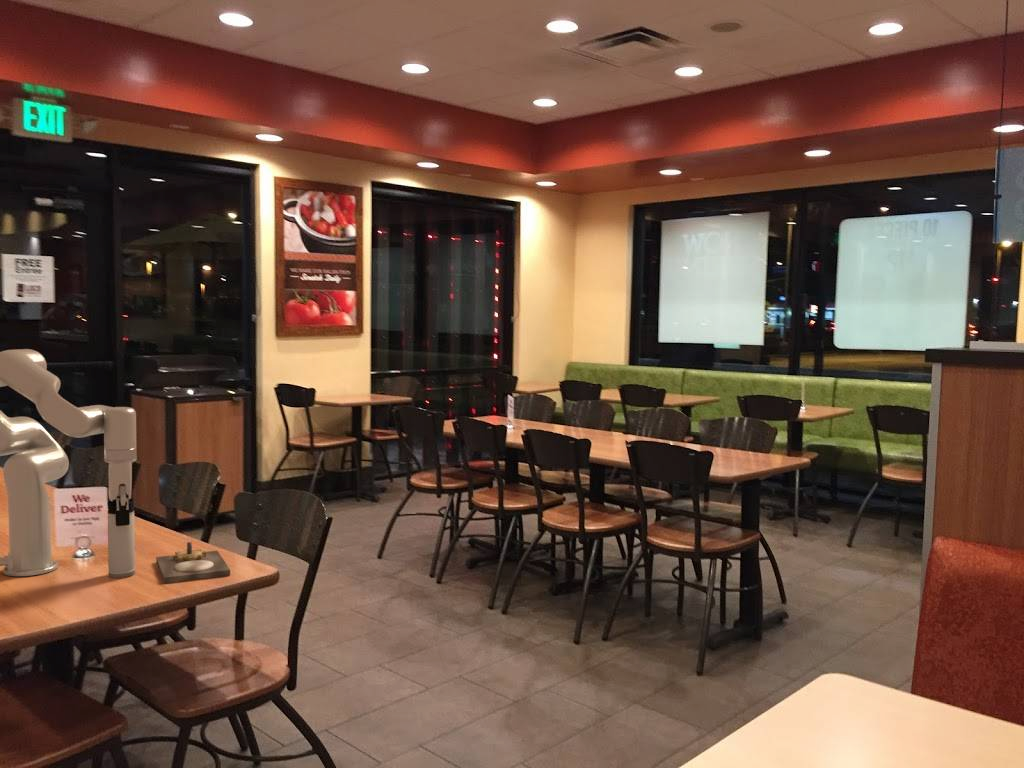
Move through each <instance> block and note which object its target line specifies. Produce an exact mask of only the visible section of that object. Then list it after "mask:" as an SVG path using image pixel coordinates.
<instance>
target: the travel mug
mask: <svg viewBox="0 0 1024 768" xmlns="http://www.w3.org/2000/svg"><path fill="white" fill-rule="evenodd" d="M128 505H129V512H130V524H129V525H125V526H116V512H115V510H117V507H116V500H113V501H110V500H109V501H108V502H107V555H108V556H107V558H108V559H107V560H108V561H107V562H108V563H107V564H108V565H107V567H108V577H110V578H111V579H112V578H113V579H125V578H129V577H132V576H134V575H135V573H136V557H135V556H136V555H135V554H136V553H135V552H136V551H135V547H136V546H135V541H136V540H135V539H136V537H135V536H136V535H135V500H134V498H132V497H131V499H130V500H128Z"/></svg>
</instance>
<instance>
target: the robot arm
mask: <svg viewBox="0 0 1024 768" xmlns="http://www.w3.org/2000/svg"><path fill="white" fill-rule="evenodd" d="M47 368H48V367H47V361H46V358H45V357H44V355H43V354H41V353H40V352H39V351H36V350H34V349H30V348H22V349H19V348H18V349H7V350H2V351H0V388H2V387H7V386H8V387H9V388H10V389H12V390H13V391H15V392H16V393H18V394H20V395H22V396H23V397H25V398H27V399H28V400H30V401H31V402H32V403H34V404H35V407H36V410H37V411H38V413H39V415H40V416H41V417H42V419H43V421H45V422H46V423H48V424H49V425H51V426H52V427H54V428H55V429H57V430H58V431H60V432H61V433H63V434H64V435H65V436H68V437H72V438H79V439H80V438H85V437H90V436H94V435H100V434H103V442H104V443H103V445H104V449H103V451H104V452H103V453H104V454H103V455H104V462H105V463H108V498H109V501H113V500H116V507H117V510H115V512H116V526H125V525H129V524H130V512H129V505H128V500H130V499H131V498H132V483H133V481H132V480H133V478H132V476H133V473H132V472H133V471H132V470H133V466H132V463H133V462H136V461H137V460H138V459H137V458H138V457H137V456H138V455H137V454H138V453H137V413H136V410H135V408H133V407H130V406H129V407H128V406H115V407H113V406H109V405H104V404H95V405H94V404H93V405H89V406H88V405H87V406H80V407H77V406H75V405H74V404H72V403H70V401H68V400H66V399H65V398H63V397H62V396H61V395H60V394H59V390H60V389H61V384H62V383H61V380H60V378H59V377H58V376H57V375H55V374H54V373H52V372H51V371H49V370H47ZM8 455H11V456H9V458H8V459H7V460H6V461H5V463H4V465H3V470H2V471H3V472H2V473H3V474H2V475H3V480H4V484H5V488H6V495H7V507H8V509H7V510H8V511H7V514H8V540H9V541H8V543H9V546H8V548H9V552H8V554H7V555H4V556H3V557H0V567H1V566H4V567H2V572H3V574H4V575H6V576H9V577H10V576H11V577H31V576H38V575H42V574H43V575H44V574H47V573H50V572H53V571H55V570H56V569H58V567H59V562H58V561H57V560H55V559H52V533H51V532H52V529H51V527H52V526H51V523H52V522H51V501H50V496H49V492H48V491H47V489H46V486H45V485H46V483H49V482H53V481H56V480H59V479H61V478H62V477H64V476H65V475H66V473H67V472H68V470H69V466H70V461H69V457H68V455H67V454H66V452H65V451H64V449H63V448H62V447H61V445H60V444H59V443H58V442H57V441H56V440H55V438H54V437H53V436H52V435H51V434H50V433H49V432H48V431H47V430H46V428H45V427H44V426H43V425H42V424H41V423H40V422H38V421H37V420H35V419H34V418H31V417H29V416H14V417H9V416H7V415H6V414H5V413H4V412H3V411H2V410H1V409H0V457H2V456H8Z"/></svg>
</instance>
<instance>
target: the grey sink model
mask: <svg viewBox="0 0 1024 768" xmlns="http://www.w3.org/2000/svg"><path fill="white" fill-rule="evenodd" d="M192 544H193V543H192V542H191V541H188V542H186V549H185V550H182V551H176V552H174V554H172V555H164V556H156V559H155V560H156V565H157V568H158V571H159V573H160V575H161V578H162V580H163V584H172V583H181V582H189V581H197V580H196V579H198V580H205V579H204V578H206V579H211V578H213V577H214V578H222V577H230V576H231V568H230V567H229V566H228V564H227V563H226V561H225V559H224V558H223V556H222V555H221V554H220V552H219V551H218V550H210V551H202V550H201V549H195V550H194V549H192V548H193V545H192ZM229 575H230V576H229Z"/></svg>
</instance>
